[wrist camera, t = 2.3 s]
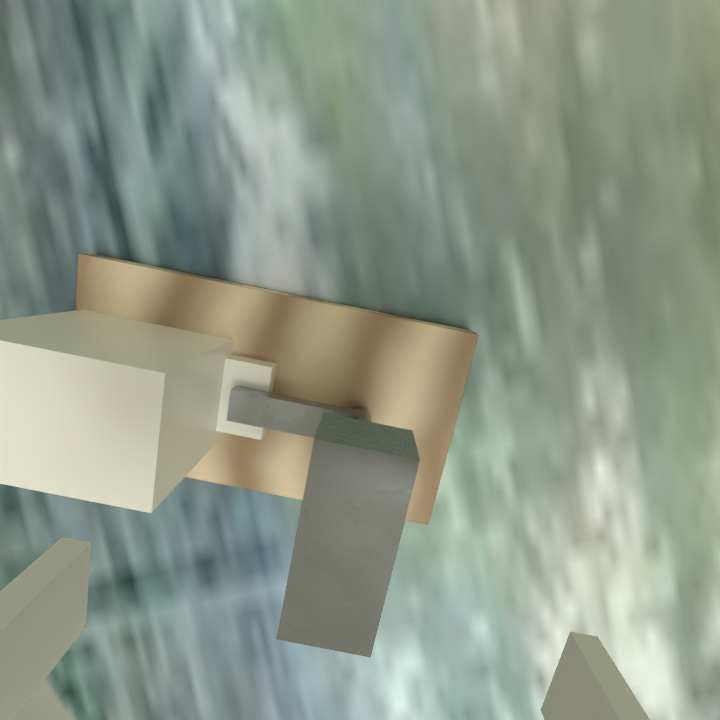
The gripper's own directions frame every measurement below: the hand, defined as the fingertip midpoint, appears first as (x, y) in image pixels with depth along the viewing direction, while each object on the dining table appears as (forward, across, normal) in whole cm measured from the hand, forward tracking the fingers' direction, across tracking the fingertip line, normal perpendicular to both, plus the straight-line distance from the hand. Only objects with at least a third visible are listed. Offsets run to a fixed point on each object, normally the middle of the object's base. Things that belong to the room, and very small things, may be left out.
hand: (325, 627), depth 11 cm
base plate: (+19, +6, 0) cm, 20 cm away
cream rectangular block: (+17, +12, 0) cm, 21 cm away
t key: (+16, +3, 0) cm, 17 cm away
